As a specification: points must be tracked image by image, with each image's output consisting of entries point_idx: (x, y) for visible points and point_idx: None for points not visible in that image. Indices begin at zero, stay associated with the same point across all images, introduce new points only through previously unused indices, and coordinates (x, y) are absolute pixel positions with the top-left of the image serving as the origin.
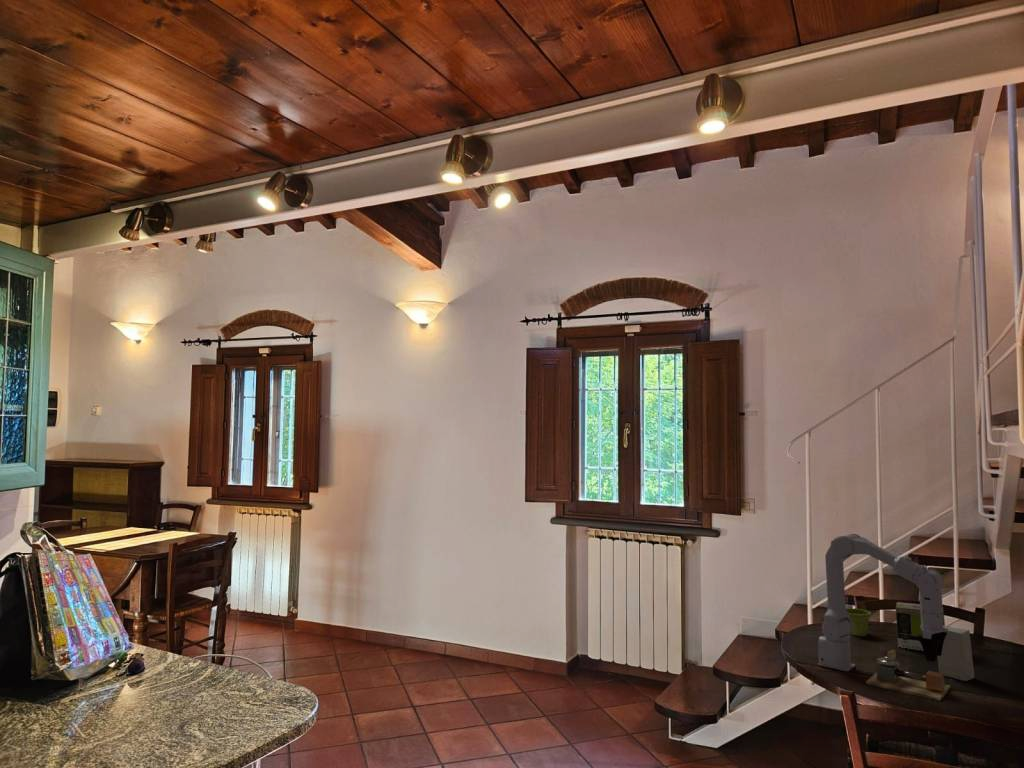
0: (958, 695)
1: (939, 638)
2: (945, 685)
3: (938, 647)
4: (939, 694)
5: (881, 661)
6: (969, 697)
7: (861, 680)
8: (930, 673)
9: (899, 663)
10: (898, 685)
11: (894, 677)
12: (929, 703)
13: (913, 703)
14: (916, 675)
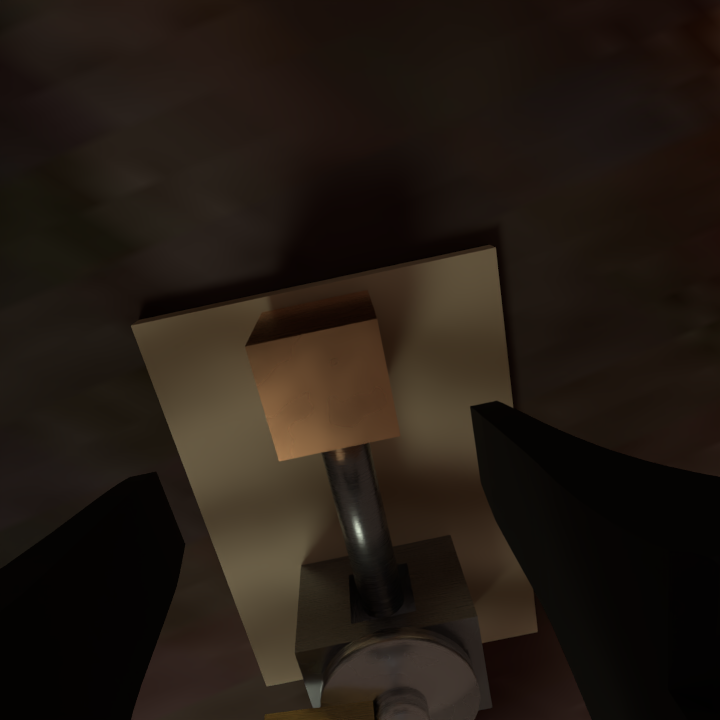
0: (244, 215)
1: (7, 703)
2: (170, 344)
3: (115, 567)
4: (413, 284)
5: (467, 716)
6: (211, 142)
7: (492, 655)
8: (346, 420)
9: (312, 650)
10: (459, 511)
11: (460, 565)
12: (591, 268)
13: (669, 330)
14: (374, 489)
